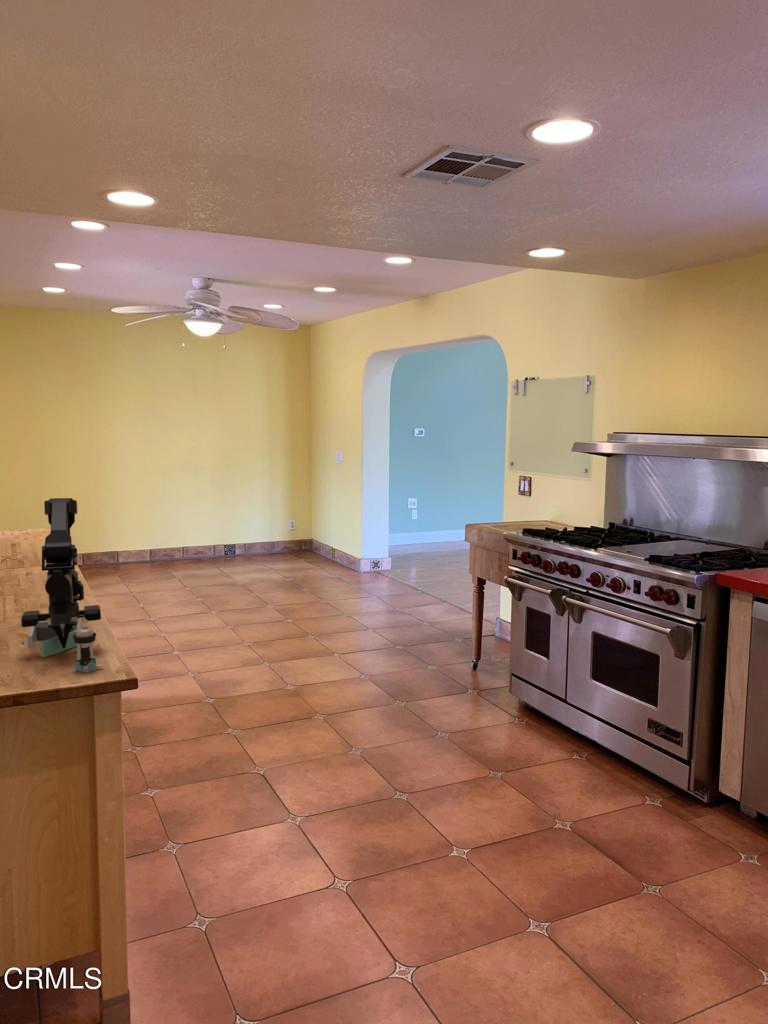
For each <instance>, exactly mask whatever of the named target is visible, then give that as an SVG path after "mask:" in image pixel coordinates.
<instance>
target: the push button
mask: <svg viewBox="0 0 768 1024" xmlns="http://www.w3.org/2000/svg"><path fill="white" fill-rule="evenodd" d="M96 637H97V633H96V632H95V631H93V629H91V628H88V629H83V628H82V629H81V630H78V631H77V634H74V635H73V638H74V642H75V643H77V646H76V653H77V654H76V655H77V657H76V659H75V661H74V666H75V667H74V668H75V670H74V671H75V673H76V674H79V673H80V674H81V673H89V672H96V671H97V669H100V668H104V666H103V665H101V664H104V662H97V659H96V657H95V656H94V642H95V641H96ZM97 665H99V666H97Z"/></svg>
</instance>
